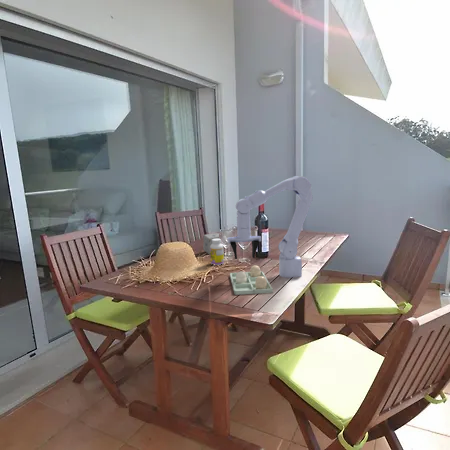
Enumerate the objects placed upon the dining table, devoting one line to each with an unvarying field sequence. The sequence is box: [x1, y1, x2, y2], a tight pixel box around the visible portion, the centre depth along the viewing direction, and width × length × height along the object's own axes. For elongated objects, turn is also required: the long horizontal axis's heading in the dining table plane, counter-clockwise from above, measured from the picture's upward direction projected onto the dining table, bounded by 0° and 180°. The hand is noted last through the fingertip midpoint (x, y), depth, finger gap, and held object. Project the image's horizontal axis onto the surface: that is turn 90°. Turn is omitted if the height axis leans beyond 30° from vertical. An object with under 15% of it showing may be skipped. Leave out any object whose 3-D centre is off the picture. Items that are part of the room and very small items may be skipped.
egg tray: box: [229, 270, 274, 296], centre depth 135 cm, size 15×22×2 cm
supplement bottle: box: [209, 238, 225, 266], centre depth 165 cm, size 7×7×13 cm
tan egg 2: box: [255, 276, 268, 289], centre depth 128 cm, size 4×4×5 cm
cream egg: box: [236, 270, 247, 284], centre depth 134 cm, size 4×4×5 cm
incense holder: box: [202, 232, 220, 255], centre depth 189 cm, size 10×8×10 cm
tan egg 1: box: [249, 264, 262, 277], centre depth 142 cm, size 4×4×5 cm
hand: (244, 258), depth 142 cm, fingers open, 7 cm apart
